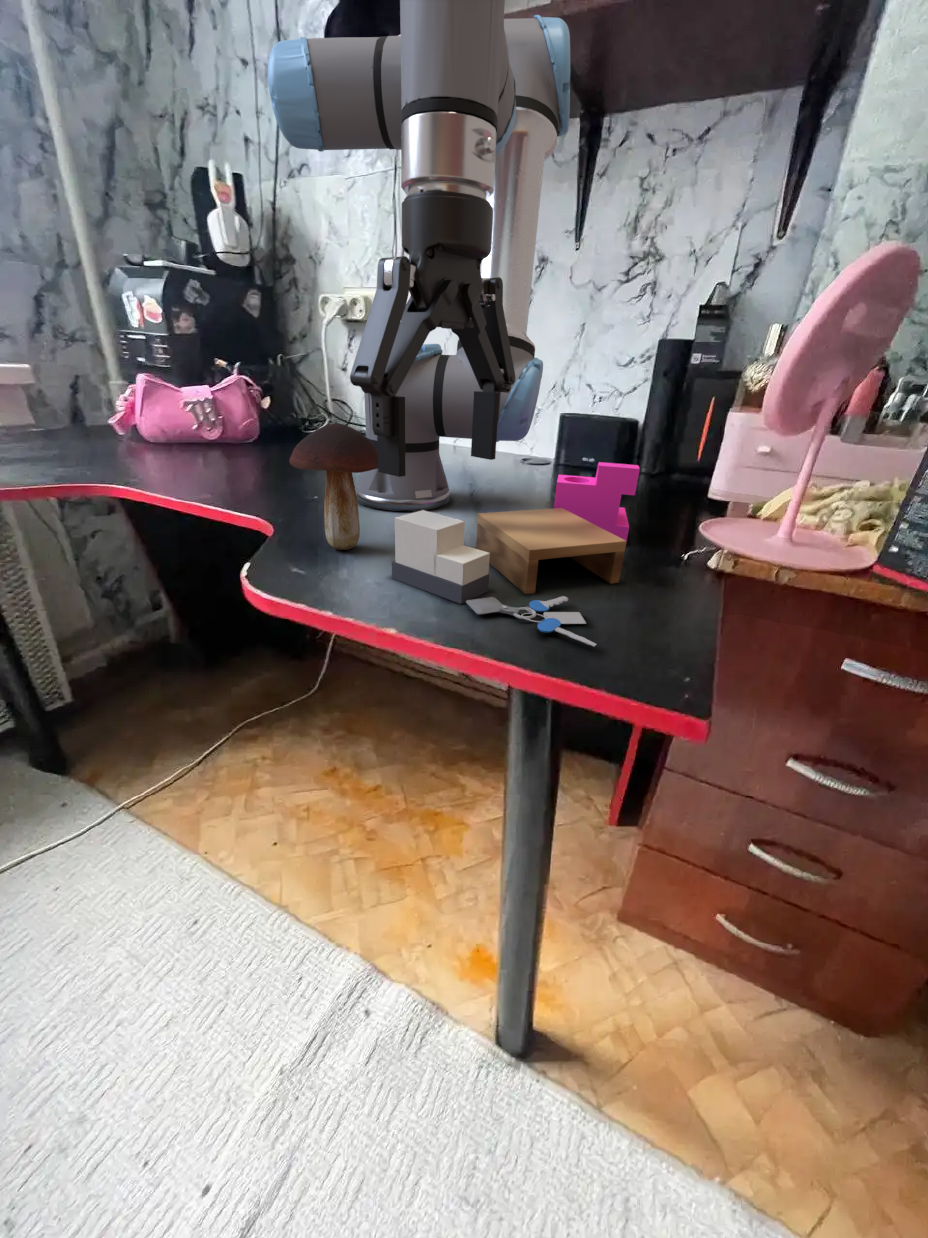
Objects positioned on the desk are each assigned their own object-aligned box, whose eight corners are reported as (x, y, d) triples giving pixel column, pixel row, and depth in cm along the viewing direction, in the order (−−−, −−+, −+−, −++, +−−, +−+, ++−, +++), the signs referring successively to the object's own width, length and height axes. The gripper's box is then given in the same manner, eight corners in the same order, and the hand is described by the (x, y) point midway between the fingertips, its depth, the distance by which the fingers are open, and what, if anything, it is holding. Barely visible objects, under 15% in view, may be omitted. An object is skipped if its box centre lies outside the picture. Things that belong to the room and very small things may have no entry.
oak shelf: (475, 551, 70) (477, 513, 68) (557, 544, 74) (561, 507, 72) (525, 594, 58) (529, 549, 56) (619, 582, 62) (626, 540, 60)
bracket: (625, 545, 75) (639, 468, 70) (550, 537, 76) (559, 462, 72) (621, 521, 85) (633, 453, 81) (554, 514, 87) (562, 448, 82)
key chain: (456, 611, 53) (456, 603, 53) (494, 584, 60) (495, 577, 60) (594, 652, 47) (595, 643, 47) (620, 617, 54) (622, 610, 53)
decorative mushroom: (400, 542, 72) (399, 422, 65) (361, 570, 62) (355, 433, 56) (326, 531, 75) (318, 415, 68) (278, 556, 65) (263, 424, 59)
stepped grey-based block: (391, 578, 61) (390, 516, 58) (419, 567, 64) (420, 508, 61) (461, 604, 55) (464, 538, 52) (488, 591, 59) (492, 528, 55)
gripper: (363, 144, 34) (373, 490, 43) (564, 224, 51) (540, 456, 61) (289, 163, 38) (313, 475, 47) (499, 231, 55) (486, 447, 65)
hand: (441, 465), depth 54 cm, fingers open, 13 cm apart
